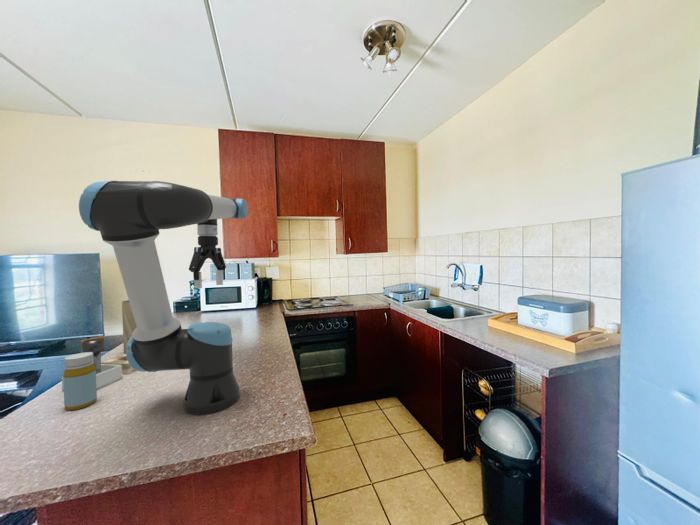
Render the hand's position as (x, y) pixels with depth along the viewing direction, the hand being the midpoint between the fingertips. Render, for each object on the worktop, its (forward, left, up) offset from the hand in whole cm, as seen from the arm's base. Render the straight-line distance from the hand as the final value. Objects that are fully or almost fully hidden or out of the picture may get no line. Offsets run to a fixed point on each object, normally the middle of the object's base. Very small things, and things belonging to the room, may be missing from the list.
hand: (209, 286), depth 117 cm
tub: (-25, +28, -32) cm, 49 cm away
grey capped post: (-25, +28, -31) cm, 49 cm away
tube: (+4, +41, -32) cm, 52 cm away
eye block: (-10, +30, -32) cm, 45 cm away
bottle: (-37, +17, -32) cm, 52 cm away
